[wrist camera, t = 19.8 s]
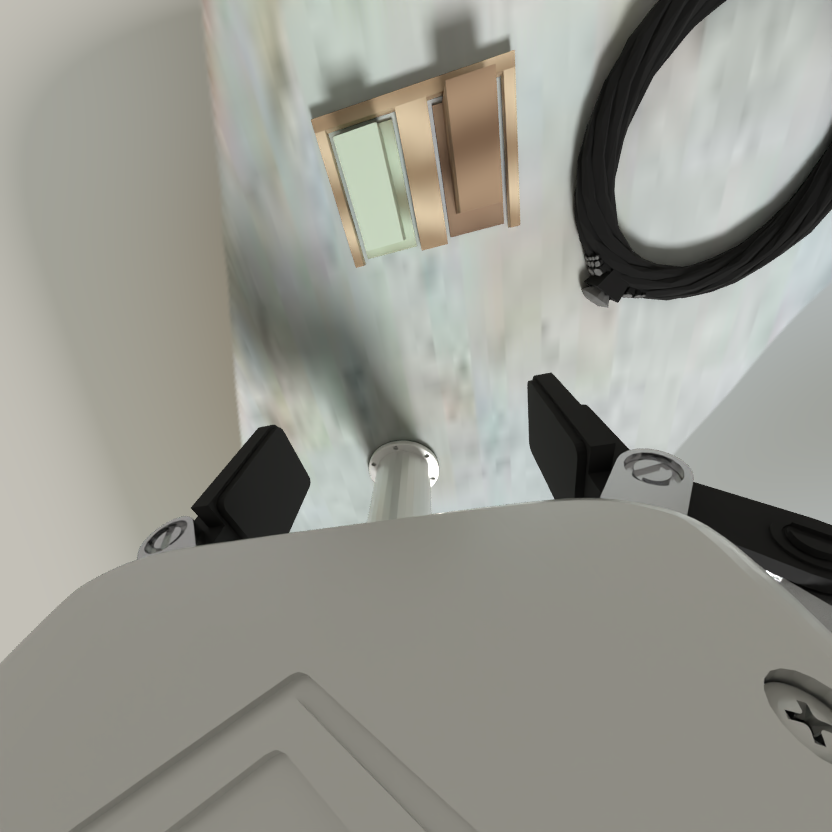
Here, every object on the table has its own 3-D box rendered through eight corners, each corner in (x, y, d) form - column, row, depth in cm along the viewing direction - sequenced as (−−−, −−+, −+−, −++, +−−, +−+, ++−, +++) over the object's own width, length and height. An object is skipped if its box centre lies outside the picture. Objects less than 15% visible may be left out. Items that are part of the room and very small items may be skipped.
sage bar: (406, 238, 34) (403, 240, 30) (373, 248, 35) (366, 251, 30) (383, 136, 29) (376, 121, 25) (345, 149, 30) (332, 137, 26)
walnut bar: (492, 204, 32) (502, 201, 28) (456, 214, 33) (460, 212, 29) (484, 88, 27) (495, 63, 23) (442, 102, 28) (445, 80, 24)
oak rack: (517, 224, 33) (520, 224, 32) (357, 266, 36) (356, 267, 35) (511, 56, 26) (514, 49, 25) (314, 123, 29) (310, 119, 28)
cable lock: (1019, 62, 24) (674, 361, 38) (948, 82, 27) (655, 351, 41) (859, -307, 17) (507, 233, 31) (788, -221, 20) (499, 232, 34)
